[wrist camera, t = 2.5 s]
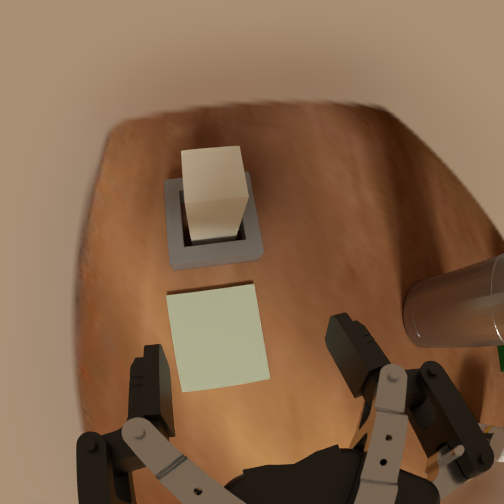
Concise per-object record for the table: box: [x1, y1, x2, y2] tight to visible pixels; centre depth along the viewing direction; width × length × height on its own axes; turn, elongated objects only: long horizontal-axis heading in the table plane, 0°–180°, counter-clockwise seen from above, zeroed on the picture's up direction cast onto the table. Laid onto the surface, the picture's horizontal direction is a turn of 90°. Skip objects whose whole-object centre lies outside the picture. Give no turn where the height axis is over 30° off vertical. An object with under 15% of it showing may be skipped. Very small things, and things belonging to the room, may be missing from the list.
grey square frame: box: [164, 172, 264, 271], centre depth 29 cm, size 9×9×3 cm
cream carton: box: [181, 146, 249, 246], centre depth 25 cm, size 4×4×11 cm
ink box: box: [478, 423, 504, 462], centre depth 22 cm, size 9×5×12 cm, turn 64°
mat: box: [166, 284, 270, 392], centre depth 27 cm, size 9×10×1 cm
